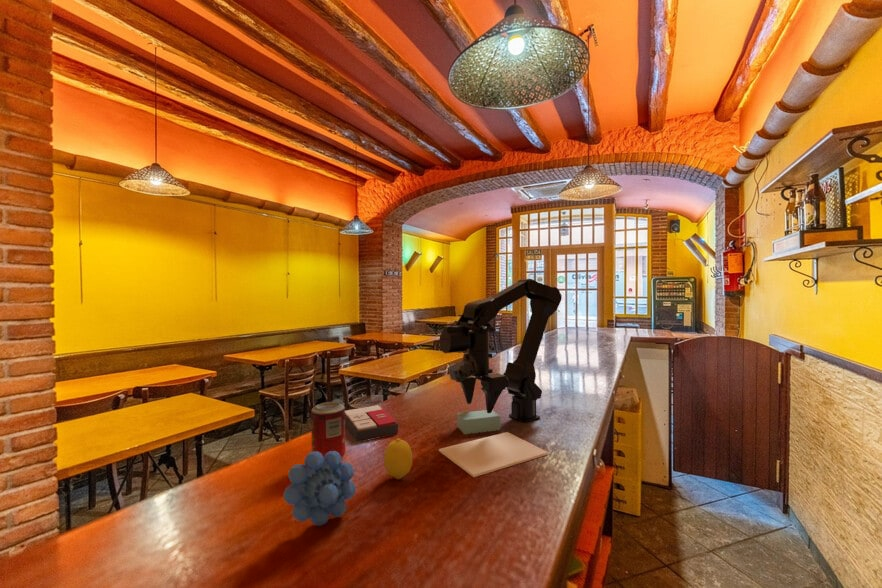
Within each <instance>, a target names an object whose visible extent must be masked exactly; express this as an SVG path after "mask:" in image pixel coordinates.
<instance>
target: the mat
mask: <svg viewBox="0 0 882 588" xmlns="http://www.w3.org/2000/svg"><path fill="white" fill-rule="evenodd" d="M438 452H439V453H441V454H442V455H444V456H445V457H446V458H447V459H449V460H450V461H451V462H453V463H454V464H455V465H456V466H458V467H459V468H461V469H462V470H463V471H465V472H466V473H467V474H468V475H470V476H471V477H472V478H476V477H480V476H482V475H486V474H489V473H492V472H496V471H499V470H502V469H506V468H508V467H509V468H510V467H511V466H515V465H519V464H521V463H525V462H528V461H532V460H534V459H537V458H542V457H544V456H546V455H547V456H548V455H549V451H546V450H544V449H542V448H540V447H538V446H536V445H535V444H532V443H530V442H528V441H526V440H524V439H523V438H520V437H519V436H516V435H514V434H512V433H510V432H509V431H506V432H502V433H498V434H494V435H491V436H490V435H489V436H486V437H482V438H481V437H480V438H479V439H473V440H469V441H466V442H461V443H458V444H455V445H450V446H446V447H441V448H438Z"/></svg>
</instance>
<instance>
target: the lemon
mask: <svg viewBox="0 0 882 588" xmlns="http://www.w3.org/2000/svg"><path fill="white" fill-rule="evenodd" d="M383 463H384V468H385V470H386V472H387V473H388V475H390V476H391V477H393V478H395V479H396V480H401V478H402V477H405V476H406V475H407V474H408V473H409V472H410V470H412V469H411V468H412V465H413V452H412V448H411V446H410V444H409V443H408V442H407V441H405V440H404V439H401V438H399V437H397V438H395V439H394V440H392V441H390V442H389V443H388V445H387V446H386V448H385V452H384V457H383Z"/></svg>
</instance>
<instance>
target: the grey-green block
mask: <svg viewBox="0 0 882 588" xmlns="http://www.w3.org/2000/svg"><path fill="white" fill-rule="evenodd" d="M456 416H457V418H456V419H457V428H458V429H459V431H461V433H462V434H463V435H469V434H470V435H471V433H472V434H478V433H479V432H480V433H488V432H495V431H496V430H497V431H501V416H500V415H499V414H498V413H497V412H495V410H494V409H493V410H492V412H491V413H487V409H483V410H474V411H467V412H466V411H465V412H458V413H457V414H456ZM487 431H488V432H487Z"/></svg>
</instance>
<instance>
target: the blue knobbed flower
mask: <svg viewBox="0 0 882 588" xmlns="http://www.w3.org/2000/svg"><path fill="white" fill-rule="evenodd" d="M342 461H343V458H341V456H340V454H339V453H338V452H336V451H329V452H328V453H326V455H325V456H324V458H323V456H322V454H321V453H319V452H316V451H313V452H312V451H310V452H309V453H307V455H306V456H305V458H304V464H295V465H293V466H291V468H290V469H289V472H288V476H287V477H288V479H289V482H290V483H291V484H289V485H288V486H286V488H285V489H284V491H283V500H284V502H285V503H286V504H288V505H289V506H293V508H292V513H291V514H292V516H293V518H294V519H295V520H296V521H298V522H306V521H308V520H309V519H310V521H311V523H312V524H313V525H315V526H317V527H321V526H323V525H325V524H327V523H328V521H329V519H330V516H332V517H335V518H336V517H341V516H343V515H344V514H345V512H346V510H347V503H346V500H350V499H351V498H354V497H355V494H356V490H357V487H356V486H355V484H354V482H353V481H351V480H352V478H353V477H354V475H355V469H354V467H353V465H352V464H351V463H349V462H342Z"/></svg>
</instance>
